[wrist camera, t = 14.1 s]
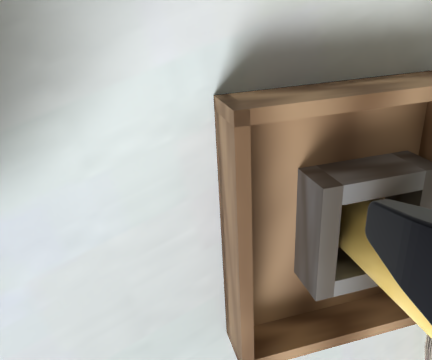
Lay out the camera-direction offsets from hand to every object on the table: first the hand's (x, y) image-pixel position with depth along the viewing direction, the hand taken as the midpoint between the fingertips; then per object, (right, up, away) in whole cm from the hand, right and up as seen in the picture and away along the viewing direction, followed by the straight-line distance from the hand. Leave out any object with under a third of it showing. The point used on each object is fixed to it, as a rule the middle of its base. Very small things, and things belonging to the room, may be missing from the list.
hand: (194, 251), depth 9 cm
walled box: (+8, 0, +17) cm, 19 cm away
